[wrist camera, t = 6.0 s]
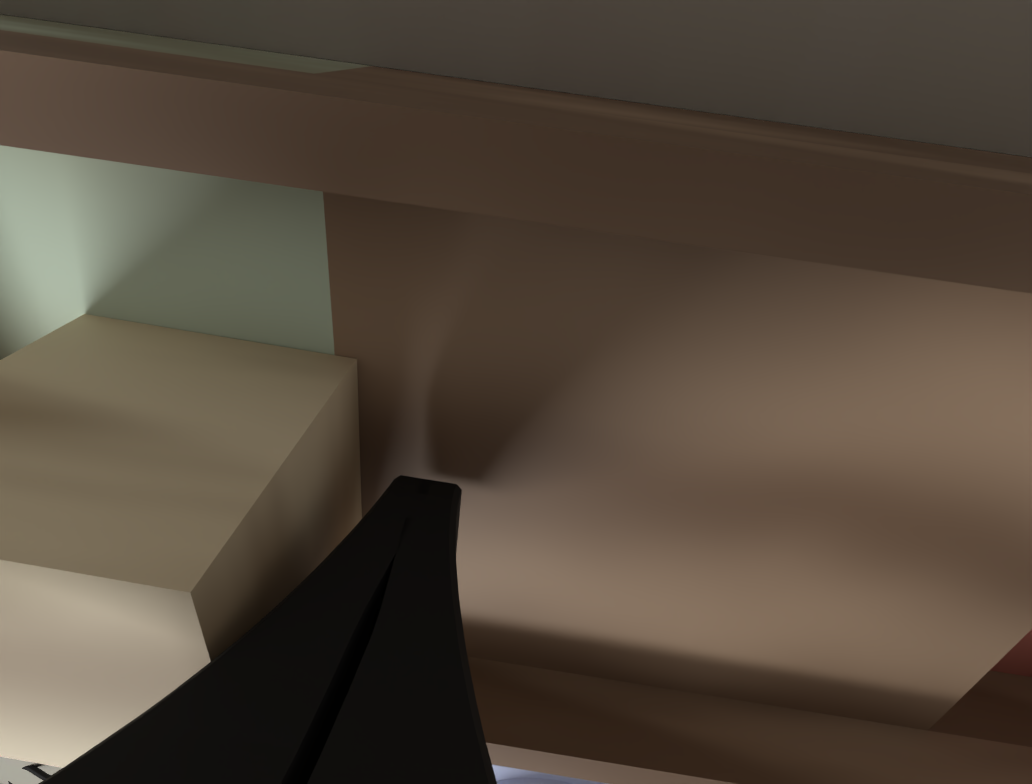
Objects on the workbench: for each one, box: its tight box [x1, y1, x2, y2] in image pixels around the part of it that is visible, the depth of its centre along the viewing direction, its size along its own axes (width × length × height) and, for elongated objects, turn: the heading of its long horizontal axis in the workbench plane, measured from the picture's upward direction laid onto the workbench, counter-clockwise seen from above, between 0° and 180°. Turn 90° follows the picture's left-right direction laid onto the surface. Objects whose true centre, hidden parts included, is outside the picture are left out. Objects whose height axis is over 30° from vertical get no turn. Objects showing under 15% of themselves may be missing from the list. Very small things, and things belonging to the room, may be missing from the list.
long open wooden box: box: [0, 14, 1032, 784], centre depth 11 cm, size 14×30×4 cm, turn 83°
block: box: [0, 314, 362, 768], centre depth 9 cm, size 5×5×5 cm
